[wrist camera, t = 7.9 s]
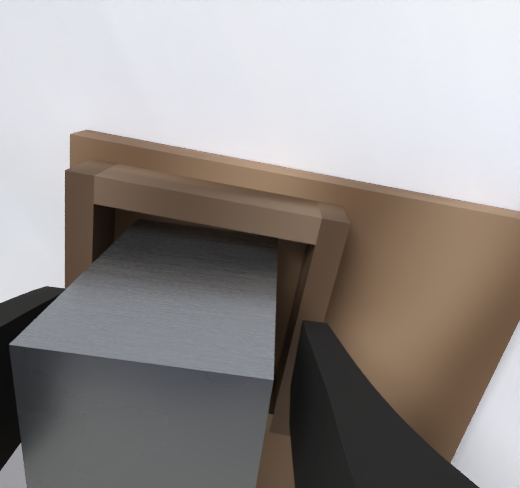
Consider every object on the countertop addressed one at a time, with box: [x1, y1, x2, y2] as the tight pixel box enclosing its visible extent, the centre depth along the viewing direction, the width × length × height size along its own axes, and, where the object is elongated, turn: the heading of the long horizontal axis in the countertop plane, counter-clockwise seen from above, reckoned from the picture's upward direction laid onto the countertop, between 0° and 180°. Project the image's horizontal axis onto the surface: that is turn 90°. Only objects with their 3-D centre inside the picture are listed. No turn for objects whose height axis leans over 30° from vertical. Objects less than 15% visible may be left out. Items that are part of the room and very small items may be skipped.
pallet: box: [65, 130, 520, 488], centre depth 14 cm, size 14×15×3 cm
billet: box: [9, 219, 278, 488], centre depth 10 cm, size 4×4×6 cm
